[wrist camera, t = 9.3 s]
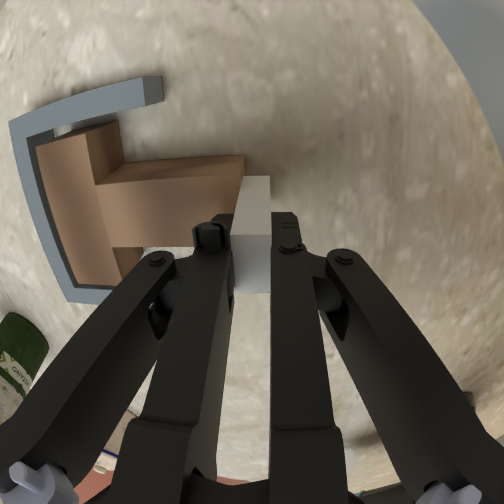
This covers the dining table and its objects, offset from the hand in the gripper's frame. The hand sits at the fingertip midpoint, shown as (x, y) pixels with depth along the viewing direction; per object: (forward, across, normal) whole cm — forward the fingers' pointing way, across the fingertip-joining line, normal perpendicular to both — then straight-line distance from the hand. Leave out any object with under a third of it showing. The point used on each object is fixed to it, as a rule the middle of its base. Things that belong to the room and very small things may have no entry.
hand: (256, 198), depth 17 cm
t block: (+2, +7, 0) cm, 7 cm away
